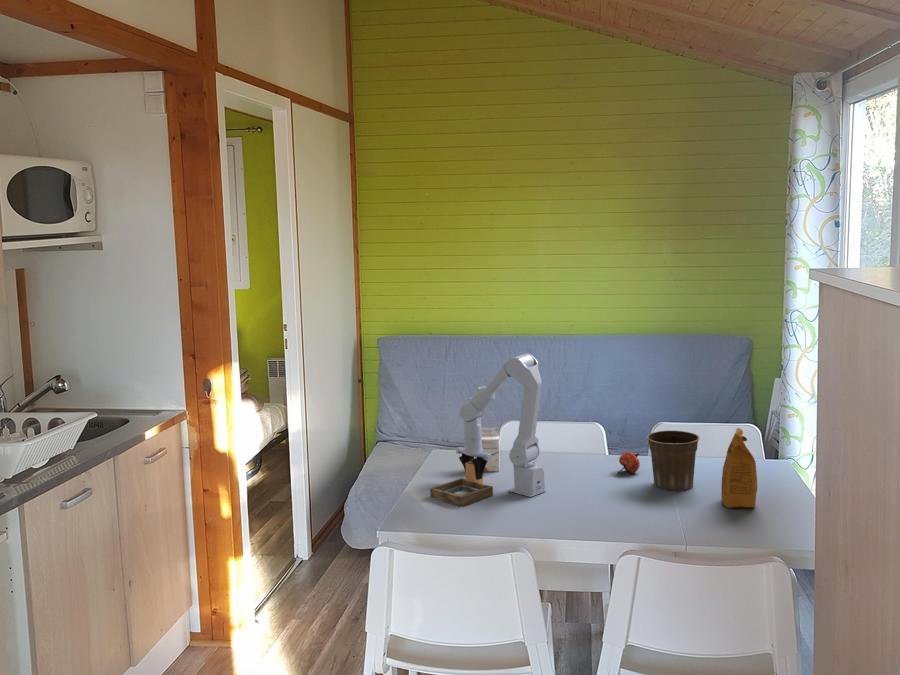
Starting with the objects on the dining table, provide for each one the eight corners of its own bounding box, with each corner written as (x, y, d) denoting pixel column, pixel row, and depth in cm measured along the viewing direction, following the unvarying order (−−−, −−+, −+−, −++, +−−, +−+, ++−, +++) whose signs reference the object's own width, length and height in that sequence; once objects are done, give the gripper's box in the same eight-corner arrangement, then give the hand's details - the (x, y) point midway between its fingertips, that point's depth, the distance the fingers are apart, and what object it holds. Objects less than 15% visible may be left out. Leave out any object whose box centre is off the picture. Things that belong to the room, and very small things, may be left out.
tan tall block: (483, 482, 284) (482, 458, 283) (474, 485, 281) (473, 461, 280) (474, 480, 287) (473, 456, 286) (466, 483, 284) (465, 459, 283)
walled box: (493, 495, 270) (492, 486, 270) (461, 506, 260) (461, 497, 260) (461, 487, 280) (461, 478, 280) (430, 497, 270) (430, 488, 270)
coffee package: (755, 497, 258) (755, 426, 256) (758, 511, 247) (758, 437, 244) (720, 496, 261) (720, 426, 258) (722, 509, 249) (722, 436, 246)
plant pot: (679, 497, 262) (679, 445, 260) (636, 485, 274) (636, 437, 272) (709, 485, 272) (709, 436, 270) (667, 475, 284) (667, 428, 282)
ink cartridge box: (475, 472, 297) (473, 430, 295) (476, 467, 302) (474, 427, 300) (499, 471, 296) (498, 430, 294) (500, 467, 301) (499, 427, 299)
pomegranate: (625, 483, 285) (648, 464, 284) (611, 466, 285) (634, 447, 284) (621, 479, 292) (644, 460, 292) (608, 462, 292) (630, 444, 292)
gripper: (497, 438, 280) (498, 478, 281) (465, 432, 290) (467, 471, 292) (482, 443, 275) (483, 483, 277) (451, 436, 285) (452, 475, 287)
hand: (474, 477), depth 284 cm, fingers closed on tan tall block, 4 cm apart
